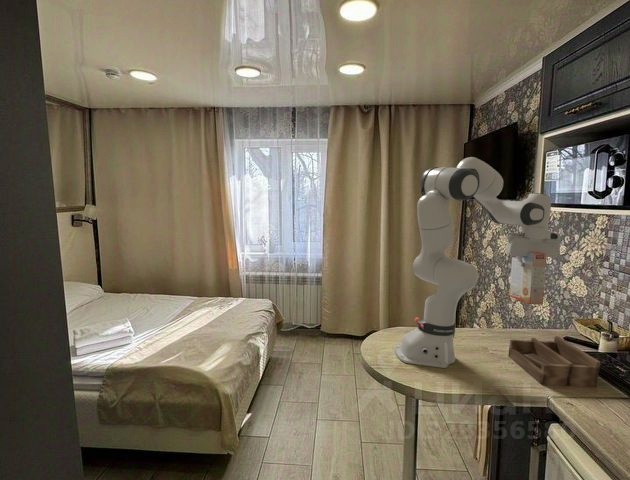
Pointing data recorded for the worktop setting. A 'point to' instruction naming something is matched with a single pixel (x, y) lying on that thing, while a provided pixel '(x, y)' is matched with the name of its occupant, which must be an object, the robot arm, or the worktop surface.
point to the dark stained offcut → (536, 360)
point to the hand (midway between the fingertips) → (530, 266)
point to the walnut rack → (556, 362)
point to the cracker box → (528, 278)
